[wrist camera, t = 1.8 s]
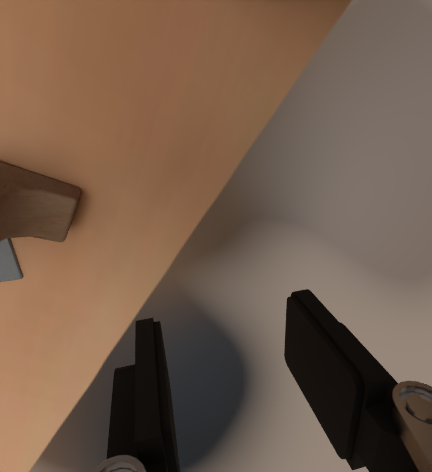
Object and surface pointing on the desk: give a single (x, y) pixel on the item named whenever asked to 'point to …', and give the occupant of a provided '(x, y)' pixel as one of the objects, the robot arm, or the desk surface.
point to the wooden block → (35, 205)
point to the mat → (8, 262)
